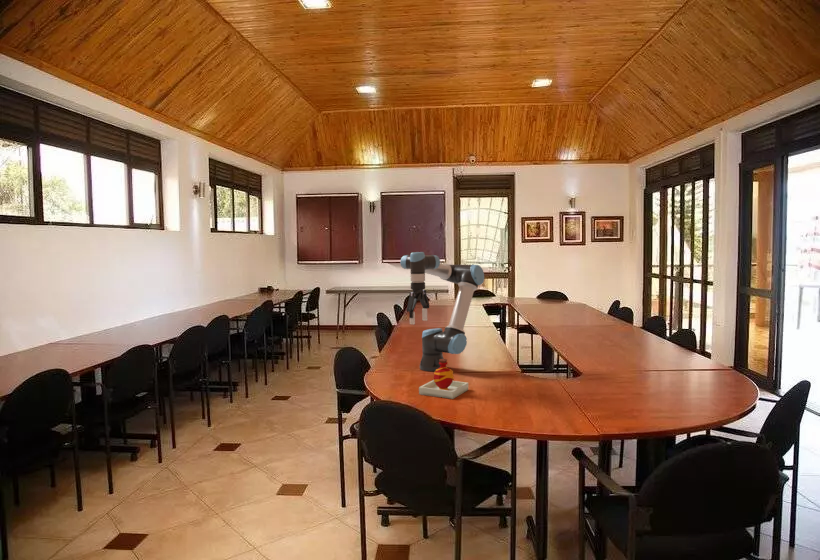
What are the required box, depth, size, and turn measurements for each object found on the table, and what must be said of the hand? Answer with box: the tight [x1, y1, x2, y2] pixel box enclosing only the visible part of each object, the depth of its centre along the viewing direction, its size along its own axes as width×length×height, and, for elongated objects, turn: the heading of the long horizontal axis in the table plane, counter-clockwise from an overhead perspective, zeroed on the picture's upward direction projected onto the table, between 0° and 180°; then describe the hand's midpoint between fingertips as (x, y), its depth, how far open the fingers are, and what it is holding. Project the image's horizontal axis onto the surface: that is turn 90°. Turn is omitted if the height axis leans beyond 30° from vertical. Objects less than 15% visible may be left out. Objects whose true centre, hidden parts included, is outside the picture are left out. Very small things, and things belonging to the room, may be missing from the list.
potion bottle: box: [433, 358, 455, 391], centre depth 262 cm, size 10×10×15 cm
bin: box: [418, 379, 469, 400], centre depth 263 cm, size 18×18×4 cm
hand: (418, 322), depth 280 cm, fingers open, 13 cm apart
